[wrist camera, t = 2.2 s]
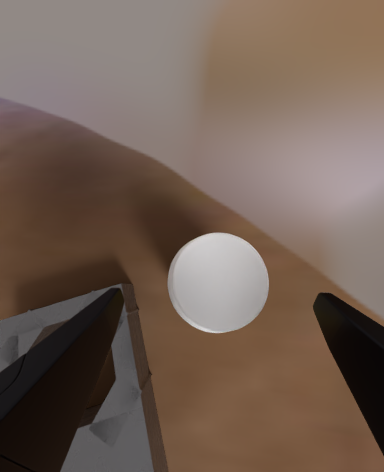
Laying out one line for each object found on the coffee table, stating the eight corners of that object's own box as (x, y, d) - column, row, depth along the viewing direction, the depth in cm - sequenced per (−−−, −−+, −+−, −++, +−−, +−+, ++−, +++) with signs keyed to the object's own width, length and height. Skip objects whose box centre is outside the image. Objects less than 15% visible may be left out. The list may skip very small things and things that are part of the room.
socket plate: (194, 596, 11) (193, 680, 9) (34, 657, 11) (-14, 761, 8) (133, 281, 17) (122, 280, 15) (27, 314, 17) (-3, 319, 14)
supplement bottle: (173, 304, 16) (134, 327, 7) (189, 248, 18) (175, 203, 8) (231, 322, 16) (278, 374, 6) (243, 262, 17) (295, 230, 8)
